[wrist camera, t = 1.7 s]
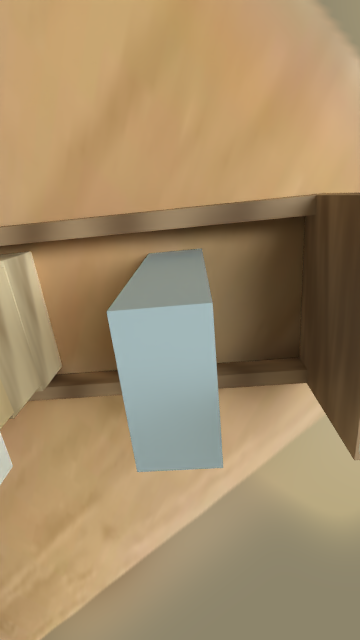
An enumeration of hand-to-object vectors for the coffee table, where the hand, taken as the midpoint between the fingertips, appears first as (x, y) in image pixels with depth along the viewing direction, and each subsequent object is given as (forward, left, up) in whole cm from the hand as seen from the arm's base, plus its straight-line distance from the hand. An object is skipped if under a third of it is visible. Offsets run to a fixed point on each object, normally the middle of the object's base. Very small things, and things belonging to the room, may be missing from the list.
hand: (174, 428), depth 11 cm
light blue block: (0, 0, -15) cm, 15 cm away
